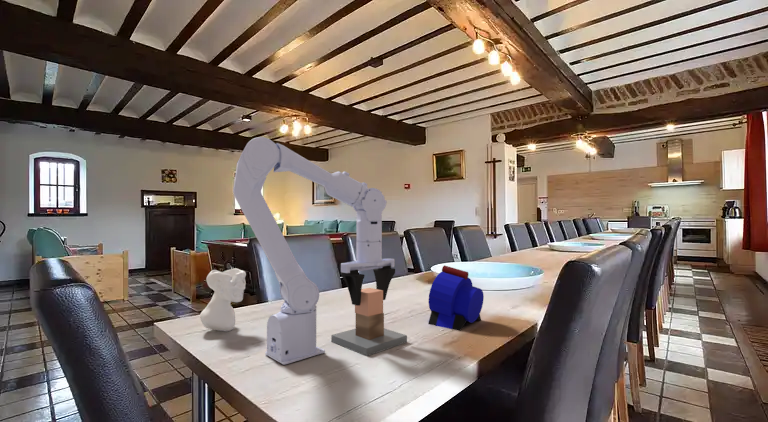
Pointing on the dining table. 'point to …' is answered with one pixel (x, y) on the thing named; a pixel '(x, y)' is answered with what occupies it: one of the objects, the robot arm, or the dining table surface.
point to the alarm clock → (454, 299)
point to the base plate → (368, 341)
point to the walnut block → (370, 326)
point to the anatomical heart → (223, 299)
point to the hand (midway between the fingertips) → (369, 302)
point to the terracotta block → (370, 302)
